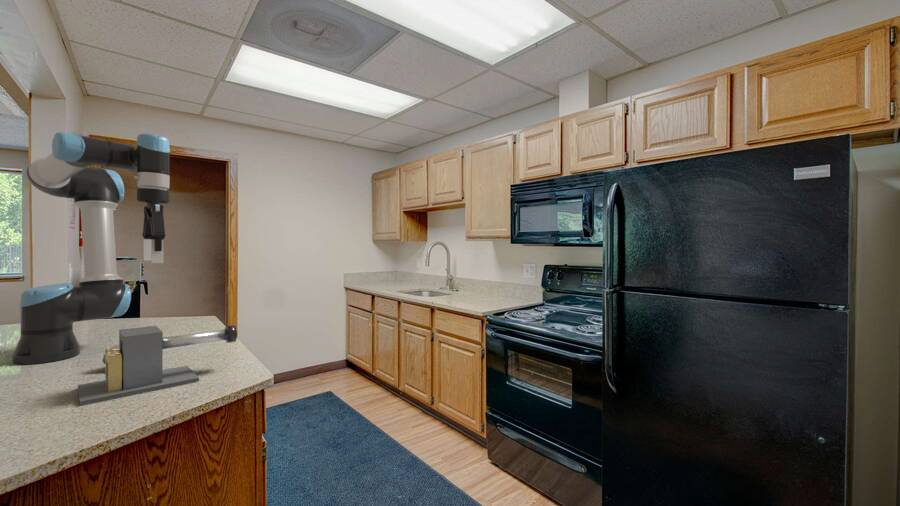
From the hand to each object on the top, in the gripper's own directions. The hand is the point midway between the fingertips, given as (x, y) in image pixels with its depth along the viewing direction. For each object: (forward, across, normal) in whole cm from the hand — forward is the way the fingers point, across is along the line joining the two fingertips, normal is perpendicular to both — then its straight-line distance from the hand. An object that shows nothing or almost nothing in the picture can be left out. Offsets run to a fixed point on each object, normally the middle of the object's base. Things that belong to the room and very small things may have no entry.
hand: (153, 261), depth 113 cm
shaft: (+25, +10, +7) cm, 28 cm away
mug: (+33, -9, -5) cm, 35 cm away
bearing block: (+33, +10, -4) cm, 34 cm away
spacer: (+32, +10, -10) cm, 35 cm away
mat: (+33, +10, -4) cm, 34 cm away
